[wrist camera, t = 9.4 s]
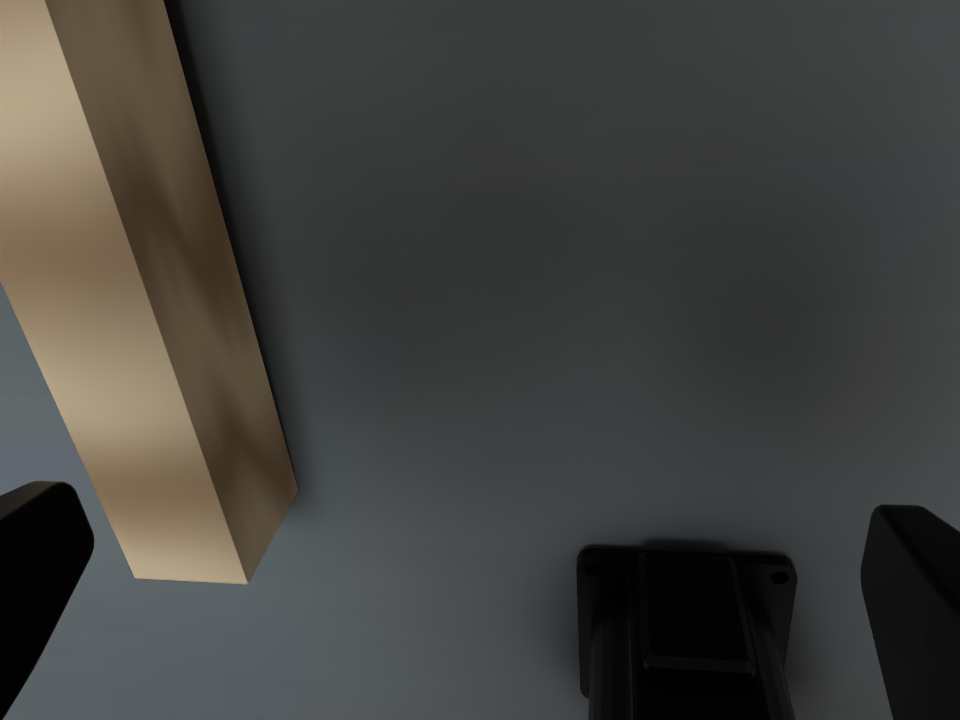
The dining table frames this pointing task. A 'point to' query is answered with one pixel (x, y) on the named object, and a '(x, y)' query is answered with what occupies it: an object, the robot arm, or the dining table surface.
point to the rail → (135, 288)
